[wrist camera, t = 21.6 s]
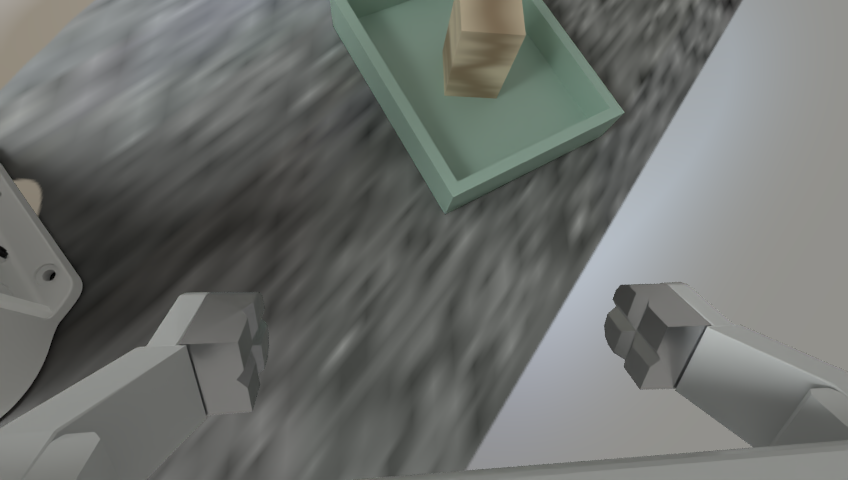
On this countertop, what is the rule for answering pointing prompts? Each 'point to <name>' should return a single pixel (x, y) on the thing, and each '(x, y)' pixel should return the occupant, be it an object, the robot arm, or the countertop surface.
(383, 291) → the countertop surface
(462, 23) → the maple block
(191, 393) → the robot arm
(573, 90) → the tray
